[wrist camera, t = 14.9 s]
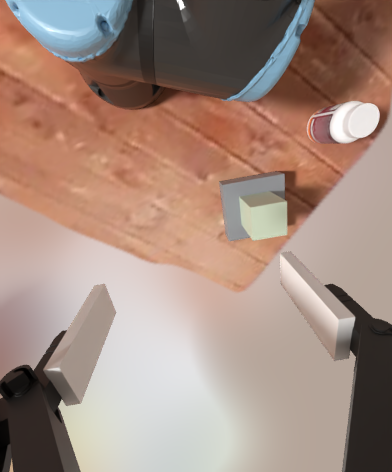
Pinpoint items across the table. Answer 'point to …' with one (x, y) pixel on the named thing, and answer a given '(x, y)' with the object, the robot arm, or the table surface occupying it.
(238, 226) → the slate block
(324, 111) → the pill bottle
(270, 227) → the sage block
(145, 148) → the table surface
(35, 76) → the table surface
